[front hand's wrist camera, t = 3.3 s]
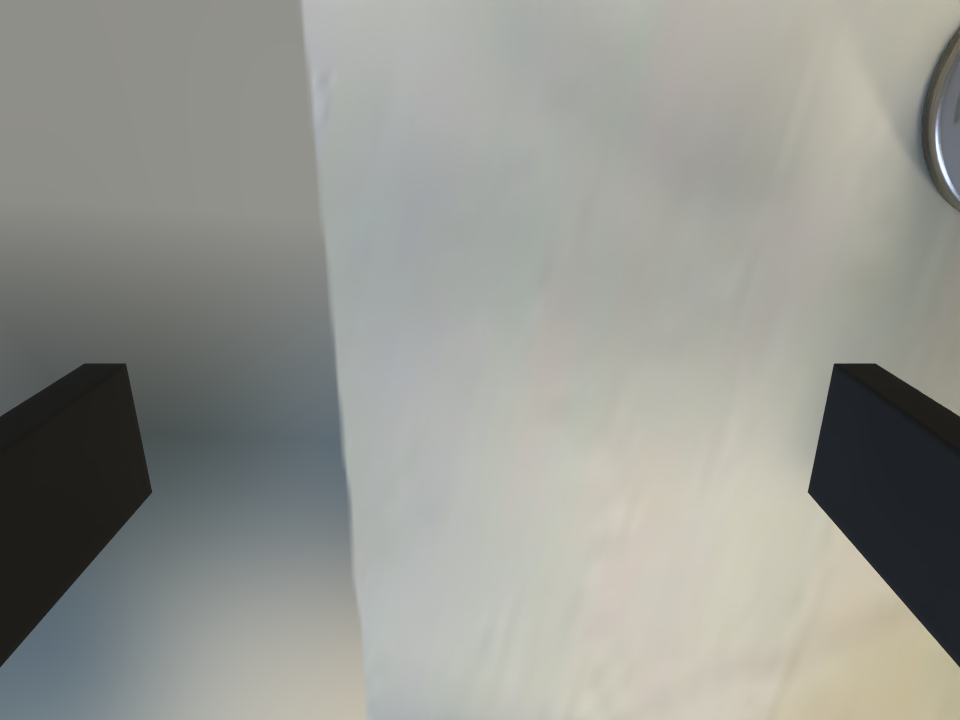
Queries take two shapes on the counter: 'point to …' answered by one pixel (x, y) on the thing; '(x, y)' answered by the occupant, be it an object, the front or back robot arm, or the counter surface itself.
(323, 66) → the counter surface
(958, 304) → the counter surface
